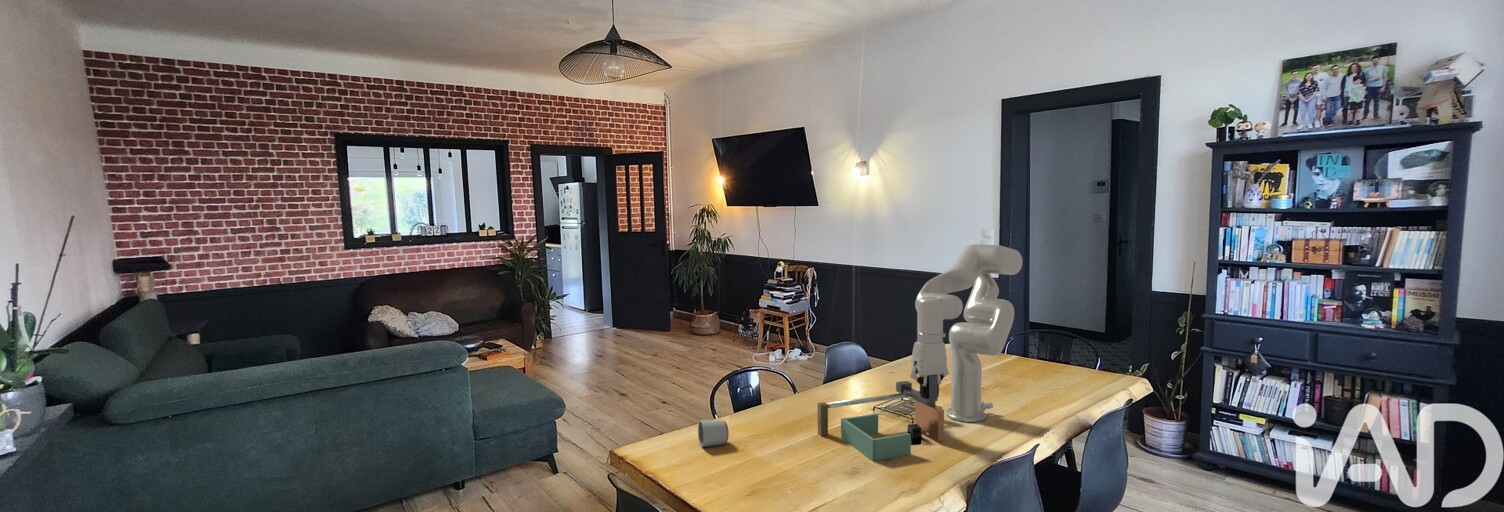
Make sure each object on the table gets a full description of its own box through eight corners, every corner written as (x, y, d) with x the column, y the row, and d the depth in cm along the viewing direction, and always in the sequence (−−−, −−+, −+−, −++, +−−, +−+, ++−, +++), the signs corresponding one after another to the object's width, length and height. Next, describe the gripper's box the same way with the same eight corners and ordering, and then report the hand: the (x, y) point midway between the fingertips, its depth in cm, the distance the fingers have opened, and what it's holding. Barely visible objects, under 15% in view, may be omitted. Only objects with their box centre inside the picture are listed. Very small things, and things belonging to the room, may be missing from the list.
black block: (933, 448, 190) (933, 433, 190) (910, 449, 189) (910, 434, 189) (917, 432, 202) (917, 418, 202) (895, 433, 202) (895, 419, 201)
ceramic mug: (730, 446, 192) (729, 421, 191) (703, 450, 189) (702, 425, 189) (720, 435, 202) (719, 411, 201) (695, 438, 199) (694, 414, 199)
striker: (906, 416, 212) (906, 361, 211) (946, 438, 192) (947, 378, 190) (895, 417, 211) (896, 362, 209) (935, 440, 191) (935, 379, 189)
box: (876, 432, 202) (876, 413, 201) (910, 454, 184) (910, 434, 184) (841, 437, 198) (840, 418, 197) (872, 461, 180) (872, 440, 179)
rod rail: (929, 416, 215) (930, 388, 214) (934, 418, 213) (934, 389, 212) (817, 433, 201) (817, 403, 201) (821, 436, 199) (820, 405, 198)
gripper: (944, 333, 201) (944, 390, 202) (899, 337, 195) (899, 396, 197) (960, 338, 194) (959, 397, 195) (913, 343, 188) (913, 404, 190)
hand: (929, 396), depth 196 cm, fingers closed on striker, 3 cm apart
